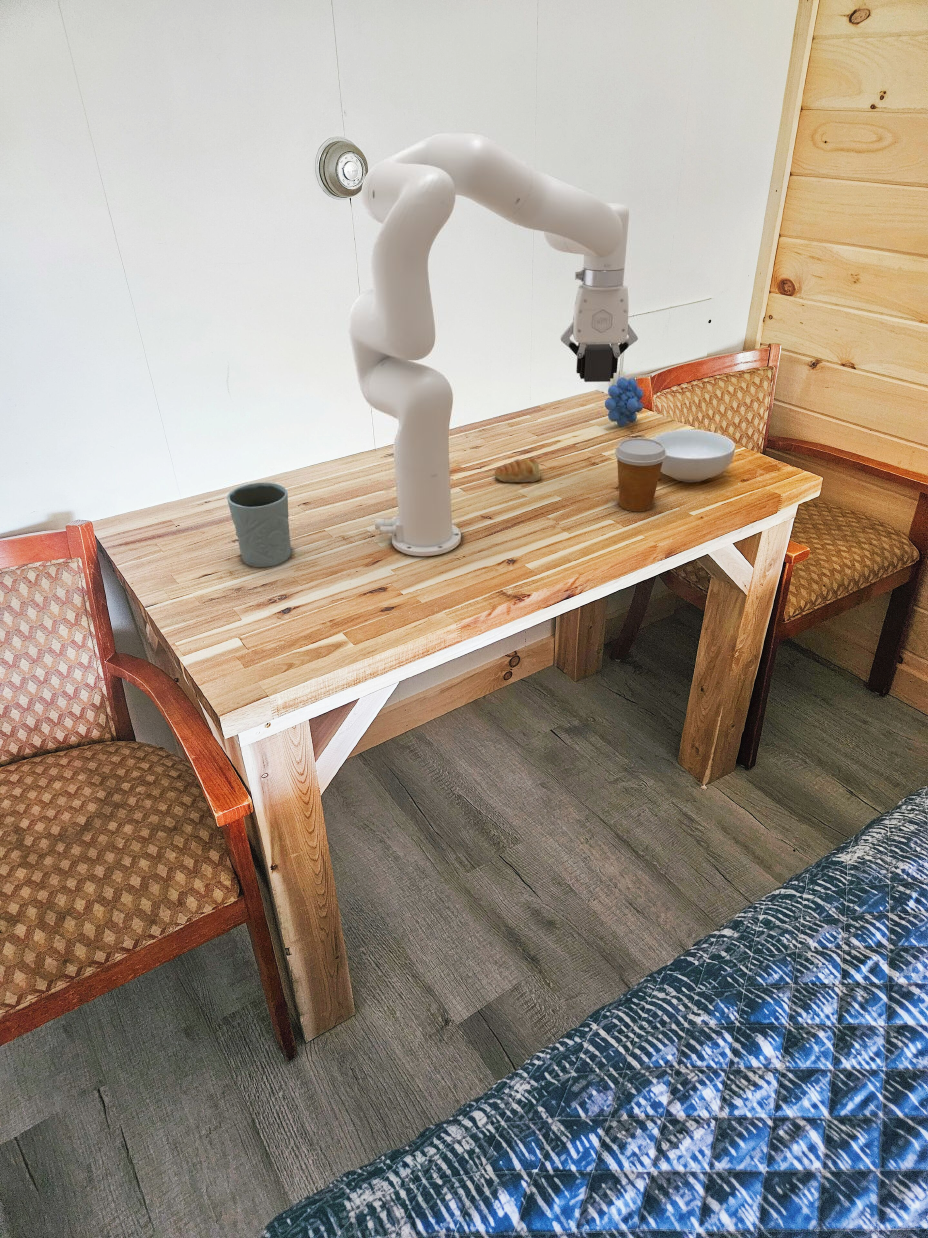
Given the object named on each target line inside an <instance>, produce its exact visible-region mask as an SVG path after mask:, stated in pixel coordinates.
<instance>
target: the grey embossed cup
mask: <svg viewBox="0 0 928 1238" xmlns="http://www.w3.org/2000/svg"><path fill="white" fill-rule="evenodd" d="M226 500H227V504H228V508H229V511H230V516H231V520H232V523H233V525H234V528H235V535H236V538H237V539H238V547H239V551H240V556H241V559H242V561H243V563H244V564H246V565H248V566H249V567H254V568H269V567H274V566H277V565H280V564H282V563H285V562H286V561H287V560H288V559H289V558H290V557H291V553H292V546H291V536H290V522H289V515H290V514H289V494H288V490H287V489H286V488H285V487H284V486H282V485H280V484H277V483H273V482H253V483H248V484H243V485H239V486H238V487H236V488H233V489H232V490H230V491H229V492H228V494H227V496H226Z"/></svg>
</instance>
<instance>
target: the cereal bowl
mask: <svg viewBox="0 0 928 1238" xmlns="http://www.w3.org/2000/svg"><path fill="white" fill-rule="evenodd" d="M651 439H653V440H656V441H659V442H661V443H662V444H663V445H664V447H665V451H666V453H667V454H666V457H665V458H664V460H663V463H662V467H661V471H660V473H662V475H666V476H668V477H670V478H671V479H672V480H675V481H679V482H682V483H699V482H703V481H705V480H707V479H711V478H714V477H716V476H719V475H720V474H722V473H723V472H725V471H726V470H727V469H728V468H729V467H730V465H731V464H732V462H733V459H734V455H735V451H736V445H735V442H734V441H733V440H732V439H730V438H729V437H727V436H725V435H722V434H720V433H718V432H717V433H716V432H713V431H709V430H702V429H677V430H676V429H674V430H668V431H665V432H662V433H658V434H657V435H654V436H653V437H652V438H651Z"/></svg>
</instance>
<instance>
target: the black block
mask: <svg viewBox="0 0 928 1238" xmlns="http://www.w3.org/2000/svg"><path fill="white" fill-rule="evenodd" d="M612 355H613V350H612V348H611V344H587V346H586V349H585V352H584V357H585V374H584V378H583V381H584V383H610V382H611V368H612Z"/></svg>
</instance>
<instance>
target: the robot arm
mask: <svg viewBox="0 0 928 1238" xmlns="http://www.w3.org/2000/svg"><path fill="white" fill-rule="evenodd" d="M456 196H460V197H464V198H467V199H469V200H471V201H473V202H475V203H476V204H478V205H480V206H482V207H484V208H485V209H487V210H489V211H490V212H492V213H494V214H496V215H497V216H499V217H501V218H502V219H504V220H506V221H508V222H510V223H511V224H514V225H516V226H519V227H523V228H526V229H529V230H532V231H537V232H538V231H539V232H543V235H544V238H545V240H546V242H547V244H548V245H549V246H550V247H551V248H553V249H554V250H556V251H559V252H561V253H569V254H573V255H574V254H575V255H583V264H582V265H583V266H582V269H580V270H579V271H575V273H574V280H577V281H580V282H581V284H579V285H578V289H577V292H576V297H575V301H574V302H575V303H574V309H573V316H572V317H573V318H572V322H570V323H571V324H570V325H569V326H568V327H567V328H566V330H564V332H563V333H562V334H561V335H560V337H559V338H560V342H561V343H563V344H564V345H565V346H566V347H568V349H570V351H571V352H572V353H574V355H575V356H576V370H575V371H576V374H578V375H579V377H580V380H584V374H585V357H584V352H585V349H586V346H587V344H610V346H611V348H612V350H613V355H612V368H611V379H613V380H614V377H615V374H617V373H618V362H619V358H620V357H621V355H622V354H623V353H625V351H626V350H627V349H628V348H629V347H630V346H632V345H633V344H634V343H636V342H637V341H638V339H639V337H638V336H637V334H636V332H635V331H634V330H633V327H631V325H630V324H629V308H630V307H629V289H628V285H626V284H624V281H625V280H624V279H625V267H626V254H627V245H628V244H627V243H628V233H629V221H630V212H629V208H628V206H627V205H626V204H624V203H618V202H604V201H603V200H602V199H600V198H598V197H597V196H595V195H594V194H592V193H589V192H588V191H585V190H584V189H581V188H579V187H576V186H574V185H572V184H569V183H567V182H565V181H563V180H561V179H559V178H556V177H554V176H552V175H550V174H547V173H545V172H542V171H540V170H538V169H537V168H535V167H533V166H532V165H530V164H529V163H527V162H525V161H524V160H522V159H521V158H520V157H518V156H516V155H515V154H514V153H512V152H510V151H509V150H507V149H506V148H504V146H502V145H501V144H499V143H497V142H496V141H494V140H493V139H490V138H489V137H487V136H485V135H484V134H483V135H482V134H479V133H474V132H440V133H436V134H433V135H431V136H429V137H428V136H427V138H424V139H422V140H419V141H418V142H416V143H414V144H412V145H410V146H408V147H406V148H404V149H402V150H401V151H399V152H397V153H395V154H393V155H391V156H389V157H386V158H385V159H383V160H381V161H378V162H377V163H376V164H375V165H373V166H372V167H371V168H370V169H369V170H368V172H367V173H366V175H365V177H364V178H363V181H362V184H361V200H362V205H363V207H364V209H365V211H366V213H367V214H368V215H369V217H371V218H372V219H373V220H374V221H376V222H377V223H379V224H382V225H381V227H380V229H379V230H378V232H377V235H376V238H375V240H374V243H373V246H372V249H371V254H370V255H371V256H370V267H371V268H370V271H371V278H372V286H373V288H371V289H368V290H366V291H364V292H362V293H361V294H359V296H357V297H356V299H355V300H354V302H353V303H352V306H351V308H350V312H349V317H348V333H349V339H350V340H349V341H350V345H351V350H352V355H353V360H354V365H355V370H356V376H357V380H358V385H359V388H360V391H361V394H362V396H363V398H364V400H365V402H366V403H367V404H368V405H369V406H370V407H372V408H373V409H375V410H377V411H378V412H380V413H383V414H385V415H387V416H391V417H392V418H394V419H396V420H398V428H397V431H396V434H395V436H394V440H393V445H392V446H393V447H392V448H393V449H392V450H393V451H392V453H393V464H394V474H395V487H396V498H397V500H396V501H397V516H392V517H391V518H375V519H374V529H375V530H379V533H380V535H388V534H389V535H390V534H391V544H392V546H393V547H394V548H395V550H397V551H398V552H401V553H403V554H406V555H409V556H415V557H432V556H433V557H434V556H437V555H438V556H439V555H443V554H445V553H448V552H451V551H452V550H454V549H455V548H457V547H458V546H459V545H460V543H461V540H462V532H461V530H460V529H459V528H458V526H456V525H454V524H453V519H452V518H453V517H452V516H453V515H452V513H453V512H452V491H451V490H452V489H451V488H452V487H451V466H450V465H451V462H450V461H451V460H450V425H451V418H452V411H453V405H454V404H453V403H454V393H453V389H452V386H451V384H450V382H449V381H448V379H447V378H446V376H444V375H443V373H441V372H440V371H438V370H436V369H435V368H433V367H430V366H428V365H424V364H422V363H419V362H415V361H420V360H423V359H424V358H426V357H428V356H429V355H430V354H431V352H432V351H433V349H434V347H435V343H436V324H435V315H434V307H433V301H432V294H431V286H430V279H429V257H430V252H431V250H432V246H433V244H434V242H435V240H436V239H437V236H438V235H439V233H440V231H442V229H443V228H444V226H445V225H446V223H447V222H448V221H449V219H450V217H451V215H452V213H453V211H454V208H455V204H456ZM572 336H573V340H574V341H575V342H576V343H578V344H576V343H575V342H574V341H573V340H572V339H571V337H572Z"/></svg>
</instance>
